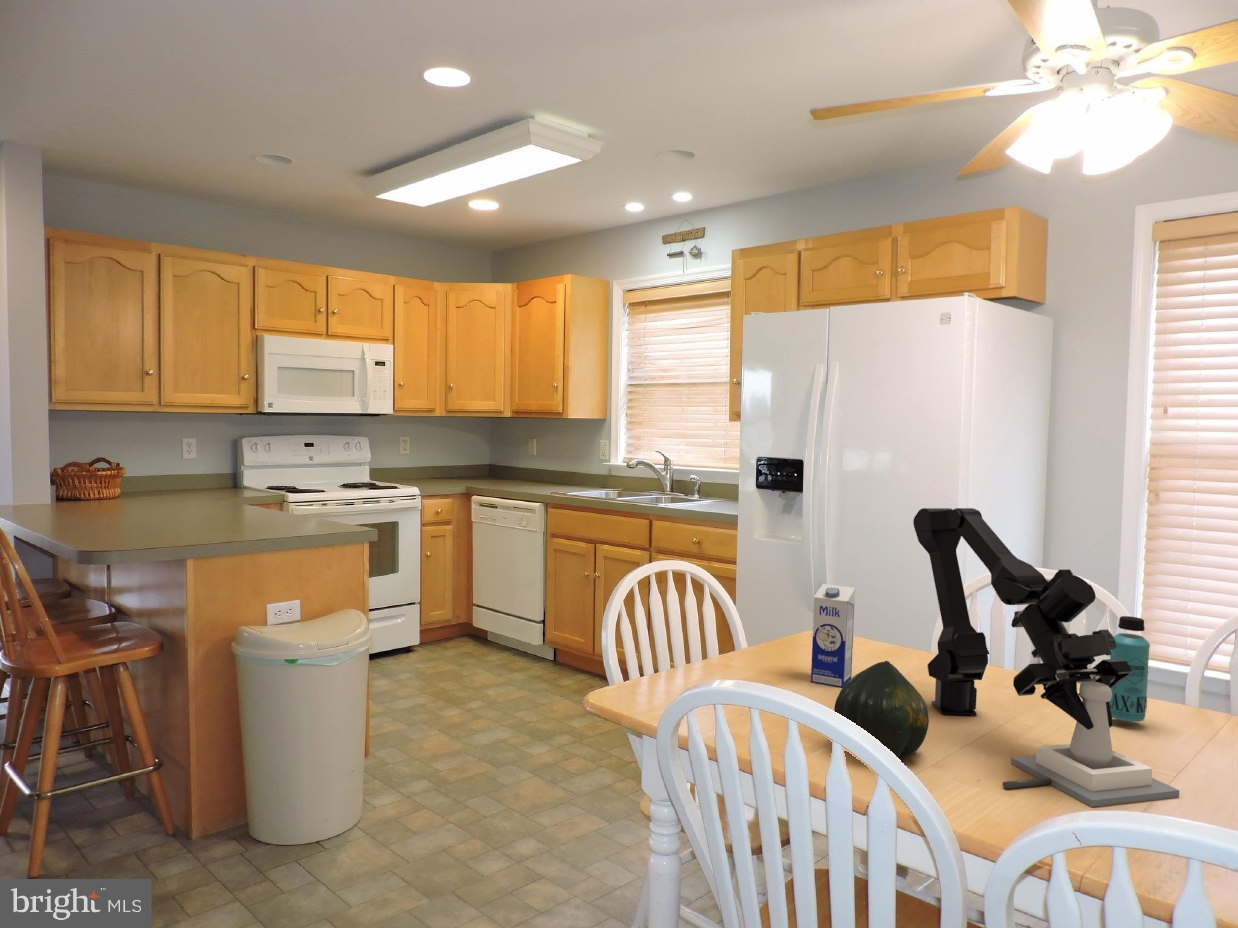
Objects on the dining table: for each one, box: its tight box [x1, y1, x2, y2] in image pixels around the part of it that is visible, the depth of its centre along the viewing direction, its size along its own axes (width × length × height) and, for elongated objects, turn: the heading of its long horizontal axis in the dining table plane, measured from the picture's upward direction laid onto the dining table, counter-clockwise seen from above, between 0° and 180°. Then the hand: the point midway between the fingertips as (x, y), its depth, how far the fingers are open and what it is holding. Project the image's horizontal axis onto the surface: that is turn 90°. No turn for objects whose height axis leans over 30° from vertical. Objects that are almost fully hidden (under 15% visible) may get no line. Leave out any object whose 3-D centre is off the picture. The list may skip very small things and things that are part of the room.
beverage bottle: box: [1109, 615, 1151, 723], centre depth 156 cm, size 6×7×20 cm
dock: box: [1002, 743, 1180, 808], centre depth 129 cm, size 24×16×4 cm, turn 106°
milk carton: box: [810, 583, 856, 689], centre depth 178 cm, size 7×7×20 cm
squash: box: [833, 660, 930, 757], centre depth 140 cm, size 14×15×15 cm
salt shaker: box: [1069, 681, 1114, 770], centre depth 130 cm, size 6×6×13 cm
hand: (1100, 727), depth 129 cm, fingers closed on salt shaker, 3 cm apart
